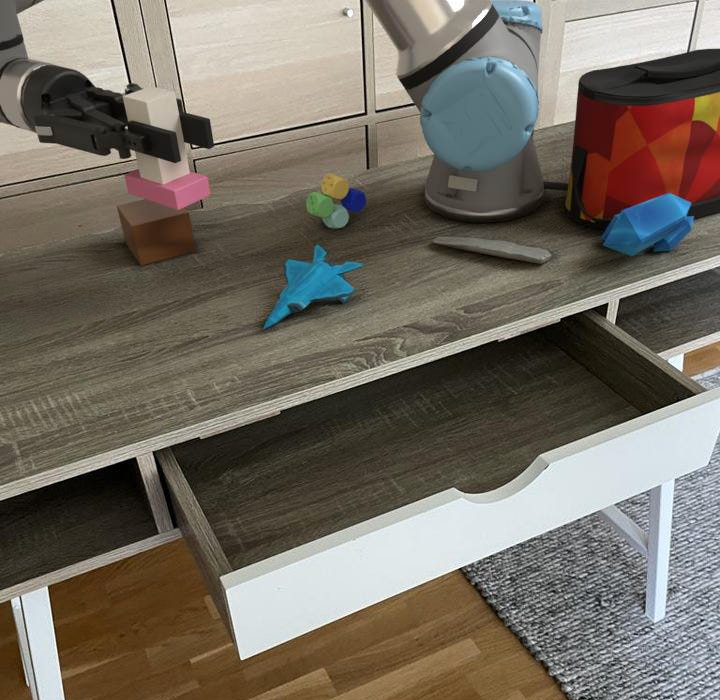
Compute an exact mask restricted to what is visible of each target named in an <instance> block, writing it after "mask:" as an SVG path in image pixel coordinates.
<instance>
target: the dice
mask: <svg viewBox="0 0 720 700" xmlns="http://www.w3.org/2000/svg"><path fill="white" fill-rule="evenodd" d="M320 185H321V191H322V192H317V191H313V192H310V194H309V195H308V196H307V198H306V201H305V202H306V203H305V206H306V207H305V208H306V210H307V212H308V213H309V214H310V215H313V216H316V217H319V218H321V219H322V222H323V224H324V225H325V227H327V228H330V229H336V230H337V229H341V228H344V227H345V226H346V225H348V222H349V219H350V216H349V212H348V211H351V212H355V213H356V212H357V213H359V212H361V211H362V210H364V209H365V207H366V205H367V197H366V194H365V192H364V191H362V190H359V189H356V188H353V187H352V188H351V187H350V185H349V181H348V179H346V178H344V177H343V176H339V175H336V174H333V173H327V174H326V175H325V176H324V177H323V178H322V181H321V184H320ZM333 199H336V200H339V201H340V204H335V203H334V200H333Z"/></svg>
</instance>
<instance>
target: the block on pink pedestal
mask: <svg viewBox="0 0 720 700" xmlns="http://www.w3.org/2000/svg"><path fill="white" fill-rule="evenodd" d="M176 95H177V94H176V92H175V91H173V90H168V89H164V88H161V87H157V86H151V85H150V86H148V87H145V88H143V89H142V90H139V91H136V92H133V93H130V94H128V95H125V96H123V100H124V105H125V109H126V114H127V118H128V122H129V121H132V120H133V121H137V122H140V123H144V124H148V125H152V126H155V127H159V128H163V129H166V130H170V131H174V132H176V135H177V141H178V146H179V151H180V156H181V161H180V162H177V163H173V162H169V161H166V160H163V159H159V158H156V157H153V156H150V155H146V154H143V153H140V152H136V151H134V154H135V158H136V163H137V167H138V169H135V170H133V171H130V172H128V173H125V174H124V175H123V176H124V180H125V185H126V188H127V193H128V194H130V195H132V196H136V197H138V198H141V199H147V200H150V201H152V202H155V203H158V204H161V205H164V206H167V207H170V208H173V209H176V210H180V209H182V208H184V207H185V208H186V207H189V206H191V205H192V204H195V203H197V202H199V201H201V200H203V199H206V198H208V197H210V196H211V190H210V189H211V188H210V183H209V177H208V176H207V175H204V174H201V173H197V172H193V171H191V170H190V166H189V161H188V156H187V150H186V145H185V142H184V139H183V133H182V128H181V122H180V117H179V112H178V106H177V101H176V98H177V96H176Z"/></svg>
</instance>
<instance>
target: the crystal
mask: <svg viewBox="0 0 720 700" xmlns="http://www.w3.org/2000/svg"><path fill="white" fill-rule="evenodd" d="M690 206H691V202H689V201H686V200H684V199H682V198H680V197H678V196H675V195H673V194H671V193H667V194H664V195H662V196H659V197H656V198H654V199H651V200H648V201H646V202H643V203H640V204H638V205H635V206H632V207H630V208H627V209H624V210H622V211H621V213H620V214H617V215H615V216H614V217H613V219H612V221H611V222H610V224H609V225H608V227H607V229H604V232H603V234H602V236H601V237H600V240H603V241H604V242H603V243H602V245H603V246H604V247H606V248H608V249H612V250H614V251H617V252H620V253H622V254H625V255H628V256H630V257H634V256H635V255H637V254H639V253H641V252H642V251H644V250H645V249H648V248H649V247H651V246H652V245H654V246H653V251H652V252H656V253H657V252H672V251H673V249H675V247H677V246H678V244H680V242H681V241H683V239H685V238H686V237H687V235H688V234H689V233H690V232H692V230H693V223H694V216H687V213H688V211H689V208H690Z"/></svg>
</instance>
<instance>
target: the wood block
mask: <svg viewBox="0 0 720 700" xmlns="http://www.w3.org/2000/svg"><path fill="white" fill-rule="evenodd" d="M116 209H117V212H118V216H119V221H120V225H121V230H122V233H123V237H124V241H125V244H126V246H127V247H128V249H129V250H130V252H131V253H132V255H133V256H134V258H135V259H136V260H137V263H139V264H140V266H145V265H147V264H148V265H149V264H152V263H156V262H160V261H163V260H168V259H172V258H176V257H179V256H183V255H186V254H191V253H196V252H197V247H196V243H195V236H194V232H193V227H192V221H191V215H190V212H189V210H188V209H187V208H186V207H184V208H182V209H180V210H176V209H173V208H170V207H167V206H164V205H161V204H158V203H155V202H152V201H150V200H147V199H144V198H142V199H138V200H135V201H131V202H126V203H122V204H118V205H116Z"/></svg>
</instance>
